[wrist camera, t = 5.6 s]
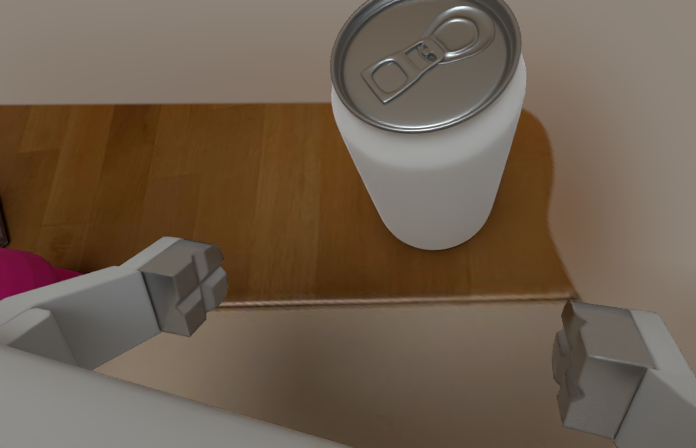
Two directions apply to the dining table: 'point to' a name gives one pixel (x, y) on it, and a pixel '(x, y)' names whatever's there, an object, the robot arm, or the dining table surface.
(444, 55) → the can
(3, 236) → the box
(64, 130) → the dining table surface
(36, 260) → the pepper mill
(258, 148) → the dining table surface
